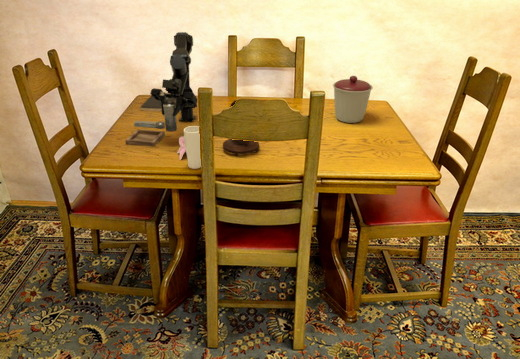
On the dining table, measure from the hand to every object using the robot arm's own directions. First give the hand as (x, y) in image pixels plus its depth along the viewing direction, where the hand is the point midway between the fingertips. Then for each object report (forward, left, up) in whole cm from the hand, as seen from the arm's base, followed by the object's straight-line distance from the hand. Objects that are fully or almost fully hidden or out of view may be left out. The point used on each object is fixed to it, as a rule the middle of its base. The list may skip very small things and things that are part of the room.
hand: (168, 115), depth 182 cm
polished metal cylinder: (-1, 0, -7) cm, 7 cm away
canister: (-45, +73, -14) cm, 87 cm away
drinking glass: (+17, +15, -14) cm, 26 cm away
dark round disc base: (-1, +29, -14) cm, 32 cm away
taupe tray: (-4, -13, -14) cm, 19 cm away
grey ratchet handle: (-19, -18, -13) cm, 30 cm away
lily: (+7, +9, -14) cm, 18 cm away
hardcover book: (-52, -23, -14) cm, 58 cm away
